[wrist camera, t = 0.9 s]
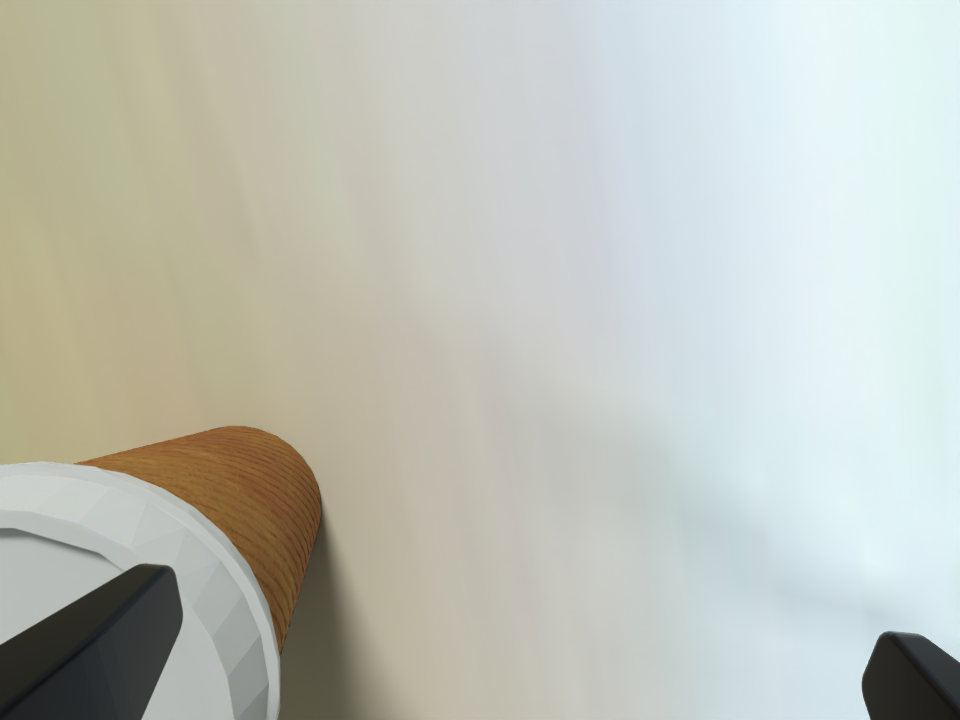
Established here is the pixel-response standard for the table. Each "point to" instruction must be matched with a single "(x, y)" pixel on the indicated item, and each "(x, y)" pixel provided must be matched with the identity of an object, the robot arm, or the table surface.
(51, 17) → the table surface
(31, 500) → the disposable coffee cup
